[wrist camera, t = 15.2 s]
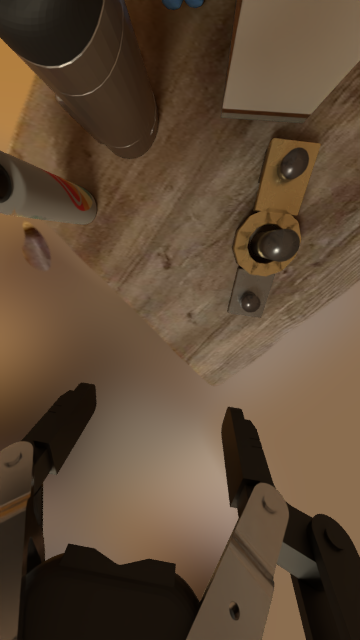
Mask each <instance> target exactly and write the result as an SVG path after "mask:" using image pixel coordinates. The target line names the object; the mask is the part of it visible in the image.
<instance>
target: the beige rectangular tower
mask: <svg viewBox="0 0 360 640" xmlns="http://www.w3.org/2000/svg"><path fill="white" fill-rule="evenodd" d="M359 61H360V0H236V6H235V13H234V21H233V29H232V36H231V44H230V52H229V59H228V67H227V75H226V82H225V90H224V98H223V105H222V113H221V118H234V119H249V120H264V121H278V122H293V123H303V122H304V121H305V120H306V119H307V118H308V117H309V116H310V115H311V114H312V112H313V111H314V110H315V109H316V108H317V107H318V106H319V105H320V104H321V103H322V101H323V100H324V99H325V98H326V97H327V96H328V95H329V94H330V93H331V91H332V90H333V89H334V88H335V87H336V86H337V85H338V84H339V83H340V82H341V80H342V79H343V78H344V77H345V76H346V75H347V74H348V73H349V72H350V70H351V69H352V68H353V67H354V66H355V65H356V64H357V63H358V62H359Z"/></svg>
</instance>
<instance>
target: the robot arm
mask: <svg viewBox="0 0 360 640" xmlns="http://www.w3.org/2000/svg"><path fill="white" fill-rule="evenodd" d="M0 38H1V39H2V40H3V41H4V42H5V43H6V44H7V45H8V46H9V47H10V48H11V49H12V50H13V51H14V52H15V53H16V54H17V55H18V56H19V57H20V58H21V59H22V60H23V61H24V62H25V63H26V64H27V65H28V66H29V67H30V68H31V69H32V70H33V71H34V72H35V73H36V74H37V75H38V76H39V78H41V79H42V80H43V81H44V82H45V83H46V84H47V85H48V86H49V88H50V89H51V90H52V91H53V92H54V93H55V96H56V100H57V102H58V103H59V104H60V105H61V106H62V107H63V108H64V109H65V110H66V111H67V112H68V113H69V114H70V115H71V116H72V117H73V118H74V119H75V120H76V121H77V122H78V123H79V124H80V125H81V126H82V127H83V128H84V129H85V130H86V131H87V132H88V133H89V134H90V135H91V136H92V137H93V138H94V139H95V140H96V141H98V142H99V143H103V144H105V145H106V146H107V147H108V148H109V149H110V150H111V151H112V152H113V153H115V154H116V155H118V156H120V157H122V158H127V159H132V158H137V157H139V156H142V155H143V154H144V153H145V152H147V151H148V149H149V148H150V147H151V145H152V143H153V142H154V140H155V137H156V133H157V128H158V111H157V105H156V102H155V98H154V94H153V92H152V89H151V86H150V82H149V79H148V76H147V72H146V69H145V66H144V63H143V59H142V56H141V53H140V50H139V46H138V43H137V40H136V37H135V33H134V30H133V27H132V24H131V20H130V17H129V14H128V11H127V7H126V4H125V1H124V0H0ZM95 408H96V389H95V385H94V384H88V383H80V384H79V385H78V386H77V388H76V389H75V390H74V391H72V390H69V391H68V392H66V393H65V394H63V395H62V396H60V397H59V398H58V400H57V401H56V402H55V403H54V404H53V406H52V407H51V408H50V409H49V410H48V412H47V413H46V414H44V416H43V417H42V418H41V419H40V420H39V421H38V423H37V424H36V425H35V426H34V427H33V428H32V429H31V431H30V432H29V433H28V434H27V435H26V436H25V437H24V438H23V439H22V440H21V441H20V442H17V443H14V444H12V445H10V446H8V447H6V448H5V449H3V450H2V451H1V452H0V640H262V636H263V632H264V628H265V624H266V620H267V616H268V612H269V608H270V604H271V601H272V596H273V591H274V581H273V576H274V572H275V568H276V564H277V565H279V566H280V567H282V568H283V569H285V570H287V571H288V572H289V573H290V575H291V579H292V583H293V587H294V591H295V595H296V600H297V604H298V608H299V612H300V616H301V620H302V625H303V629H304V632H305V637H306V640H360V557H359V555H358V553H357V550H356V548H355V546H354V544H353V542H352V541H351V539H350V537H349V535H348V534H347V533H346V531H345V530H344V529H343V528H342V527H341V526H340V525H339V524H338V523H337V522H336V521H335V520H334V519H332V518H331V517H328V516H327V515H324V514H317V515H315V516H314V517H313V518H312V517H310V516H308V515H307V514H305V513H303V512H301V511H299V510H297V509H296V508H294V507H292V506H291V505H289V504H288V503H287V502H286V501H285V500H284V498H283V497H282V495H281V494H280V493H279V491H278V490H276V488H275V486H274V484H273V481H272V478H271V474H270V471H269V468H268V465H267V462H266V458H265V455H264V452H263V450H262V445H261V442H260V439H259V436H258V432H257V429H256V428H255V426H254V425H253V424H252V422H251V421H250V420H245V419H244V415H243V412H242V410H241V409H239V408H233V407H228V408H227V410H226V414H225V417H224V420H223V424H222V432H221V433H222V443H223V451H224V460H225V468H226V477H227V485H228V492H229V500H230V507H234V508H237V509H238V516H239V519H238V521H237V523H236V525H235V528H234V530H233V532H232V534H231V536H230V538H229V540H228V542H227V545H226V547H225V549H224V551H223V553H222V556H221V558H220V560H219V562H218V564H217V566H216V568H215V570H214V573H213V575H212V577H211V579H210V581H209V583H208V585H207V587H206V590H205V592H204V594H203V596H202V598H201V600H200V602H199V600H198V598H197V596H196V595H195V593H194V592H193V590H192V589H191V587H190V586H189V585H188V584H187V583H186V581H185V580H184V579H183V578H181V577H180V576H179V575H178V574H176V573H175V566H176V564H174V563H168V562H163V561H158V560H152V559H146V560H141V561H137V562H132V563H128V564H124V565H118V564H116V563H114V562H113V561H112V560H110V559H109V558H107V557H106V556H104V555H103V554H101V553H100V552H99V551H97V550H96V549H94V548H89V547H83V546H78V545H73V544H68V546H67V548H66V550H65V553H62V554H59V555H56V556H54V557H52V558H50V559H48V560H46V561H45V544H44V537H43V482H44V480H45V478H46V477H47V475H48V474H54V475H57V474H58V472H59V470H60V469H61V467H62V465H63V464H64V462H65V460H66V459H67V457H68V455H69V454H70V452H71V450H72V448H73V447H74V445H75V444H76V442H77V440H78V439H79V437H80V435H81V433H82V432H83V430H84V429H85V427H86V425H87V423H88V422H89V420H90V418H91V417H92V415H93V413H94V411H95Z"/></svg>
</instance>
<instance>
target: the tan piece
mask: <svg viewBox="0 0 360 640" xmlns="http://www.w3.org/2000/svg"><path fill="white" fill-rule="evenodd" d="M320 145H321V144H319V143H311V142H303V141H294V140H286V139H278V138H273V139H272V140H271V141H270V144H269V147H268V148H267V150H266V152H265V157H264V161H263V165H262V169H261V173H260V177H259V181H258V183H260V185H259V189H258V193H257V197H256V201H255V205H254V209H253V211H256V212H258V213H256V214H253V215H251V216H249V217H247V218H246V219H245V220H244V222H243V223H242V224H241V225H240V227H239V228H238V229H237V230H236V232H235V236H234V241H233V245H232V250H233V254H234V257H235V260H236V263H237V264H238V265H239V266H241V267H242V268H243V269H242V268H237V272H236V276H235V281H234V285H233V289H232V293H231V297H230V301H229V305H228V310H227V312H228V313H231V314H238V315H245V316H252V317H258V318H261V316H262V313H263V310H264V307H265V303H266V300H267V297H268V294H269V291H270V288H271V285H272V282H273V279H274V276H275V274H274V273H277V272H279V271H282V270H283V269H284V268H285V267H286V266H287V265H288V264H289V263H290V262H291V261H292V260H293V259H294V258H295V256H296V254H295V255H294V256H293V257H292V258H291V259H289V260H287V261H283V262H277V261H273V260H267V261H264V262H255V261H254V260H253V259H252V258H251V257H250V256H249V252H248V248H247V246H248V242H249V238H250V236H251V234H252V233H253V232H254V231H255V230H256V229H257V227H260V226H262V225H264V224H266V225H273V226H274V227H275V228H276V229H277V230H280V229H291V230H293V231H295V232H296V233H297V234H298V236H299V239H300V242H301V235H300V229H299V223H298V221H297V220H296V219H295V218H294V217H293V216H297V215H298V212H299V209H300V206H301V203H302V200H303V197H304V194H305V191H306V188H307V185H308V182H309V179H310V176H311V173H312V170H313V167H314V164H315V161H316V158H317V155H318V152H319V148H320ZM296 253H297V252H296Z"/></svg>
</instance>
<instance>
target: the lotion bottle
mask: <svg viewBox="0 0 360 640" xmlns="http://www.w3.org/2000/svg"><path fill="white" fill-rule="evenodd" d="M96 212H97V207H96V202H95V200H94V198H93V196H92V195H91V194H90V193H89V192H88V191H87V190H86V189H84V188H82V187H80V186H78V185H76V184H74V183H71V182H69V181H67V180H65V179H63V178H60V177H58V176H56V175H54V174H51V173H49V172H47V171H45V170H43V169H40V168H38V167H36V166H34V165H31V164H29V163H27V162H25V161H23V160H20V159H18V158H16V157H14V156H11V155H9V154H7V153H4V152H2V151H0V213H3V214H6V215H11V216H18V217H26V218H34V219H42V220H50V221H58V222H66V223H73V224H88V223H90V222H92V221H93V220H94V218H95V216H96Z"/></svg>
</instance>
